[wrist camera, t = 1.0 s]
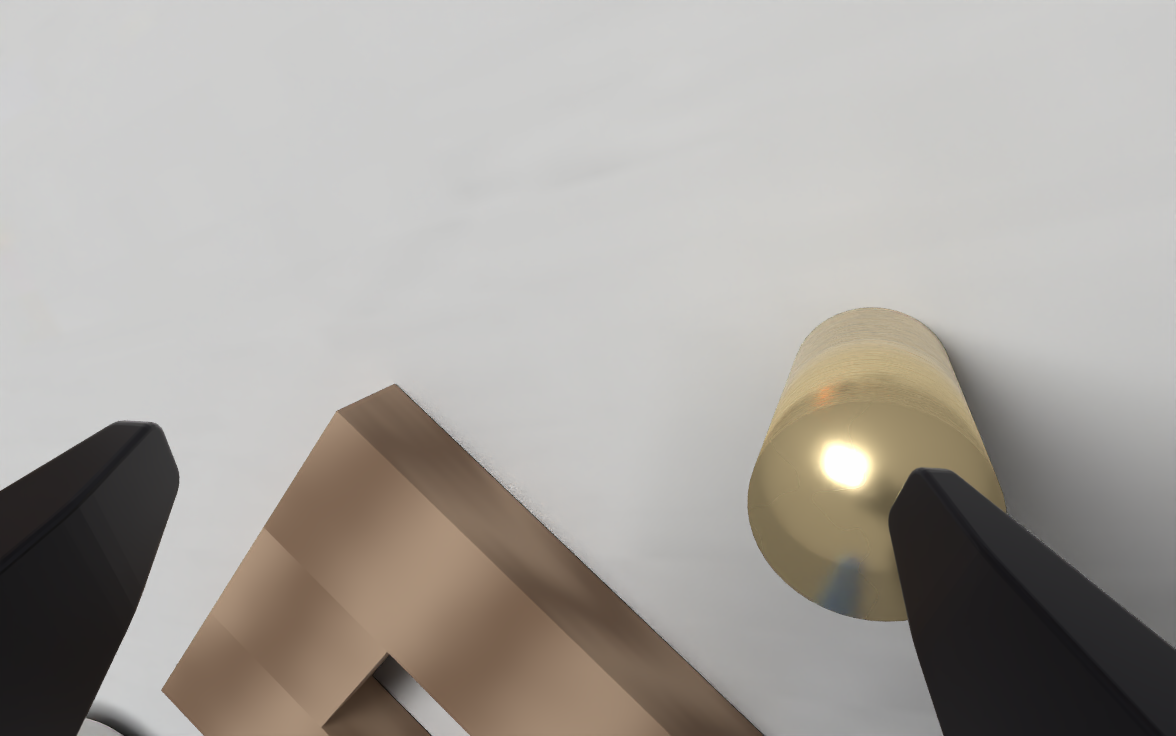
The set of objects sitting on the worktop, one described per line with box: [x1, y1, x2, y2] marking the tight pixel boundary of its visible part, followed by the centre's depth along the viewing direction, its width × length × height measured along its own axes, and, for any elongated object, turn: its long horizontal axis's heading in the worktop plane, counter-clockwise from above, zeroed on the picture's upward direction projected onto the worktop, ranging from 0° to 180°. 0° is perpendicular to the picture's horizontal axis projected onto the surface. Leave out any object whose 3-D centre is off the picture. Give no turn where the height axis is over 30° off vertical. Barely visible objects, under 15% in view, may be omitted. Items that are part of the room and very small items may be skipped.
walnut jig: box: [161, 384, 763, 736], centre depth 26 cm, size 18×18×3 cm
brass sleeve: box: [748, 308, 1006, 621], centre depth 15 cm, size 4×4×8 cm
